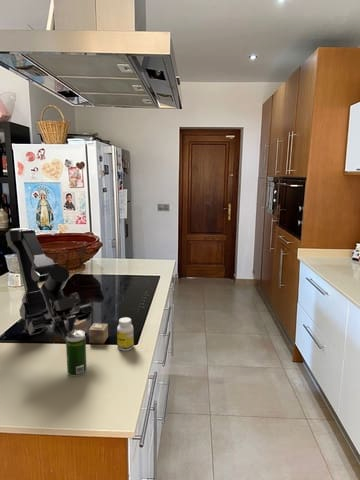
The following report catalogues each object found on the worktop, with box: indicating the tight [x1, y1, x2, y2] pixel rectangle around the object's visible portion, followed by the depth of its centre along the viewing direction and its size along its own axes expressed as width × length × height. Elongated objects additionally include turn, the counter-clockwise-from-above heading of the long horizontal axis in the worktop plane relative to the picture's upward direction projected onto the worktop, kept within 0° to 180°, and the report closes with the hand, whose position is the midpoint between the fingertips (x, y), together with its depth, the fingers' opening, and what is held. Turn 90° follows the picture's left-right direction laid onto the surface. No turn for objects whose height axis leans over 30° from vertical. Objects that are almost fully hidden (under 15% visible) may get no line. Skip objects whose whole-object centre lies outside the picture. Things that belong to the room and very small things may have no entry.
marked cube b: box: [73, 319, 88, 334], centre depth 122 cm, size 5×5×5 cm
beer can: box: [65, 330, 88, 378], centre depth 98 cm, size 5×5×12 cm
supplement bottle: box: [116, 316, 135, 351], centre depth 112 cm, size 5×5×10 cm
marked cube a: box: [88, 322, 109, 345], centre depth 117 cm, size 5×5×5 cm
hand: (71, 344), depth 99 cm, fingers closed
